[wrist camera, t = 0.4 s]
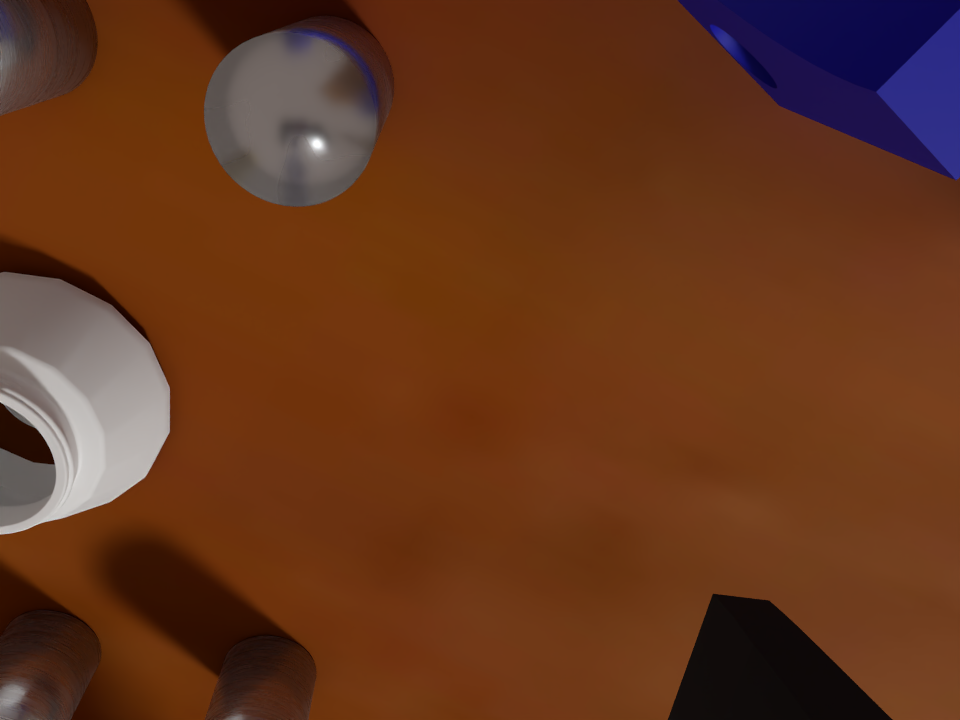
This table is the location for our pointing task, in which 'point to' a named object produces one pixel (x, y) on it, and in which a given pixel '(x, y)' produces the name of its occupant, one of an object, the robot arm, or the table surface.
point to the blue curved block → (854, 66)
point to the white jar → (74, 400)
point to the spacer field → (264, 173)
